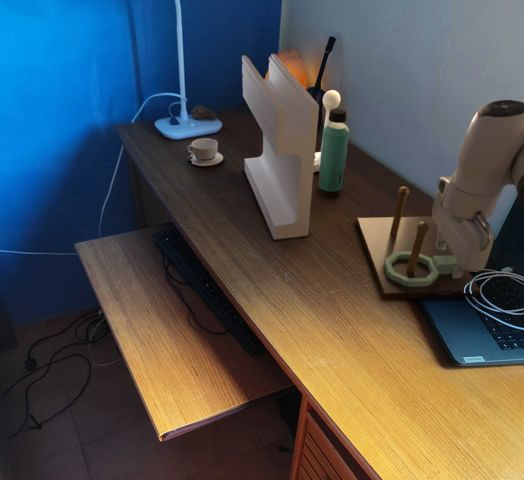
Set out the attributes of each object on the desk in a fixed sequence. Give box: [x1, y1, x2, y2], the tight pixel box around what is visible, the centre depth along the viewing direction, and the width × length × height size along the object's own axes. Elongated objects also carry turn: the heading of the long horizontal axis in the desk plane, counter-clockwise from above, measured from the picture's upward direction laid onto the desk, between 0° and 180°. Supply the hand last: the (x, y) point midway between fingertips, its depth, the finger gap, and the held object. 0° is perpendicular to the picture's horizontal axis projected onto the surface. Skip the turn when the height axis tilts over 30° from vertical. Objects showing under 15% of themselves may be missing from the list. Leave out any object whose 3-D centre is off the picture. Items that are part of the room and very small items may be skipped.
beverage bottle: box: [318, 107, 350, 193], centre depth 114 cm, size 6×7×20 cm
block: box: [241, 53, 320, 240], centre depth 108 cm, size 35×8×28 cm, turn 13°
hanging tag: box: [383, 251, 457, 287], centre depth 95 cm, size 15×10×2 cm
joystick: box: [313, 89, 341, 173], centre depth 123 cm, size 11×8×20 cm
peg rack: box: [356, 186, 481, 300], centre depth 97 cm, size 19×28×13 cm
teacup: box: [187, 137, 224, 167], centre depth 132 cm, size 10×10×5 cm
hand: (447, 262), depth 94 cm, fingers open, 8 cm apart
